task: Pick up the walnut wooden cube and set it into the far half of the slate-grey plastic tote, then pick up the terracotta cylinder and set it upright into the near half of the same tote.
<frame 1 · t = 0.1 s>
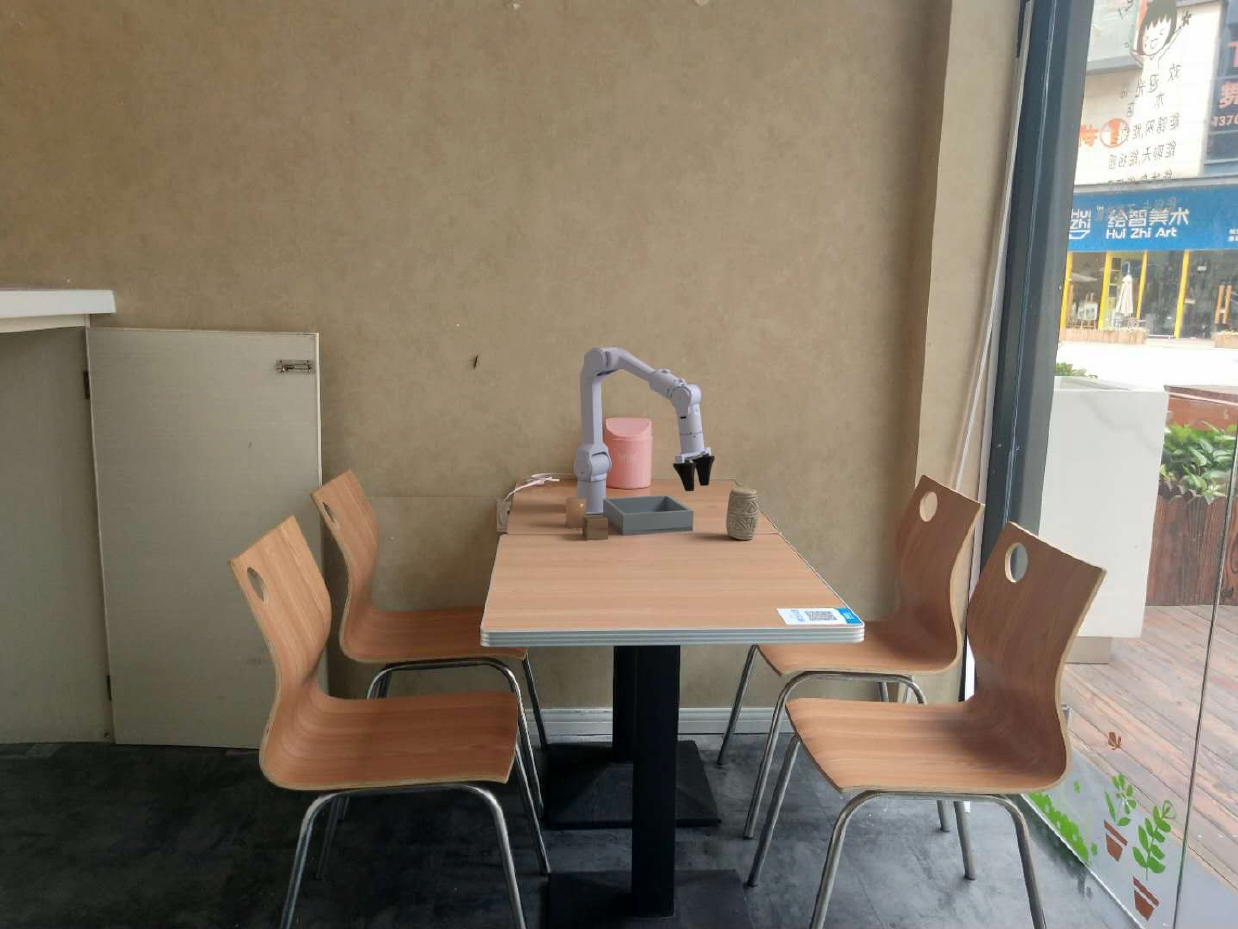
hand: (697, 488, 222), 11 cm above the table, tool pointing down, fingers open, 7 cm apart
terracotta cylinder: (575, 526, 226), on the table
tote: (646, 523, 229), on the table
walnut cube: (595, 537, 216), on the table
carving: (741, 538, 217), on the table
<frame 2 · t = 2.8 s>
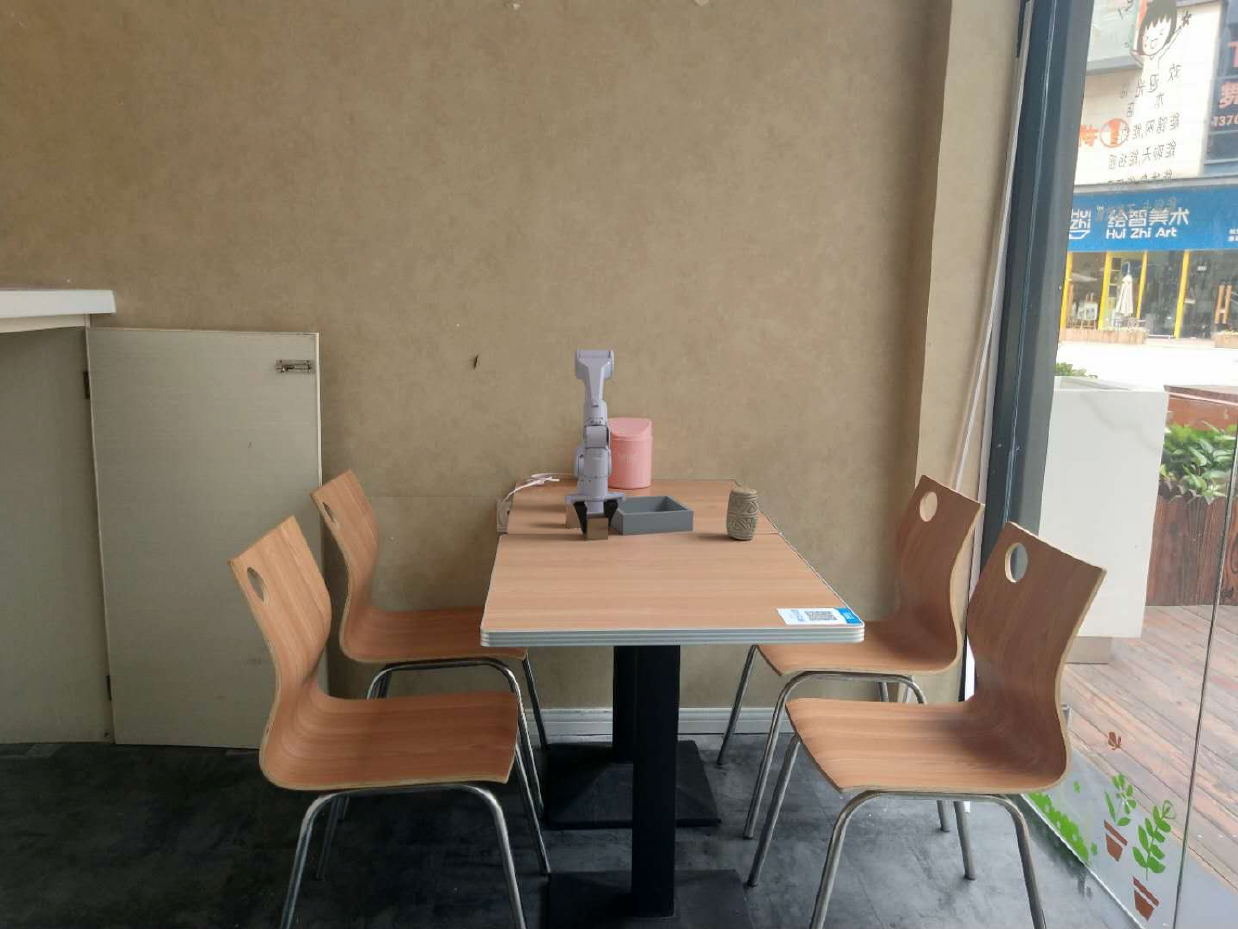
hand: (595, 531, 216), 1 cm above the table, tool pointing down, fingers closed on walnut cube, 5 cm apart
walnut cube: (595, 537, 216), on the table, touching gripper
everything else where it was.
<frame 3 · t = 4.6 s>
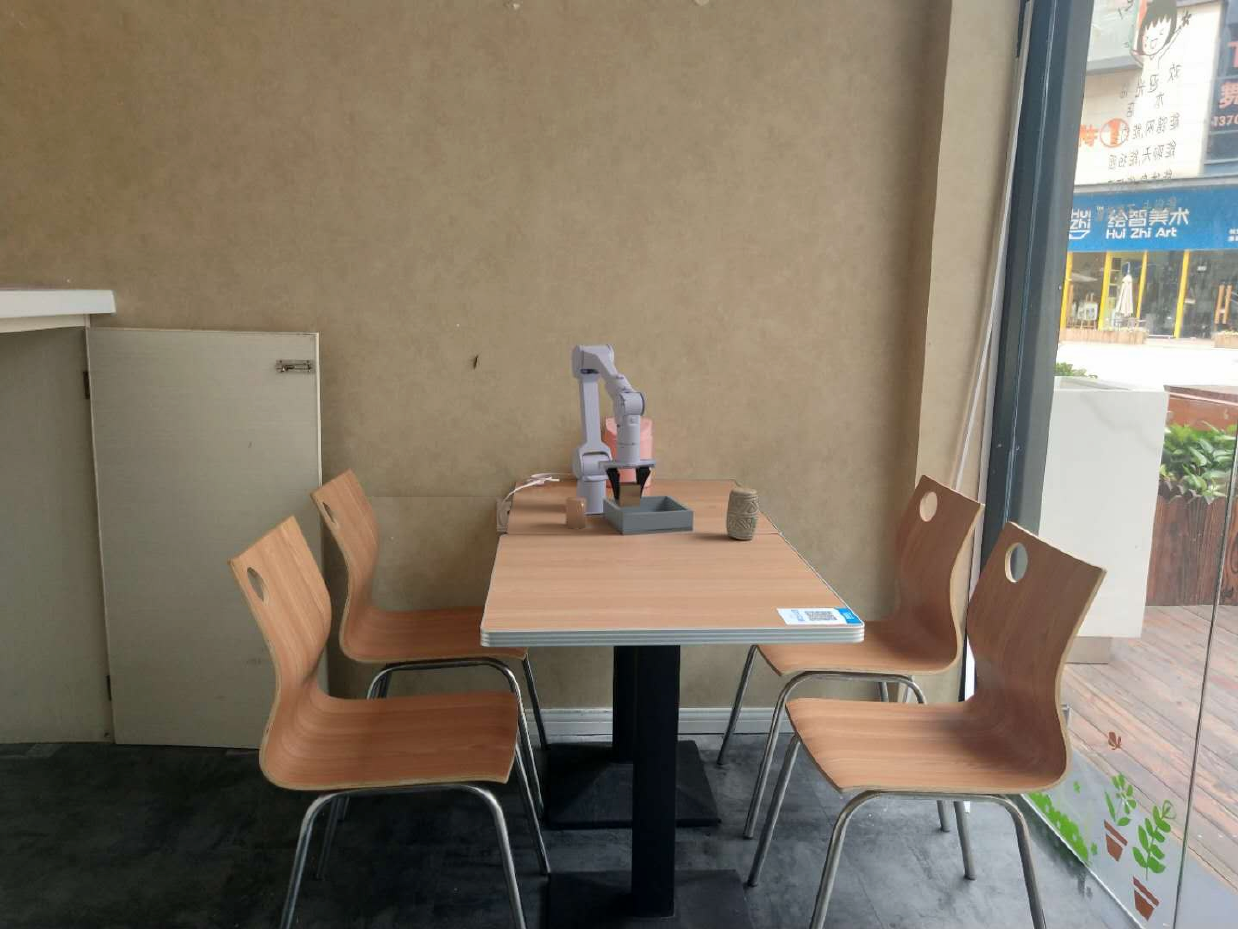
hand: (627, 498, 219), 9 cm above the table, tool pointing down, fingers closed on walnut cube, 5 cm apart
walnut cube: (627, 504, 219), point 7 cm above the table, touching gripper
everything else where it was.
when the fingers open (4 cm above the table, at t = 6.4 s): walnut cube drops 2 cm, resting on tote.
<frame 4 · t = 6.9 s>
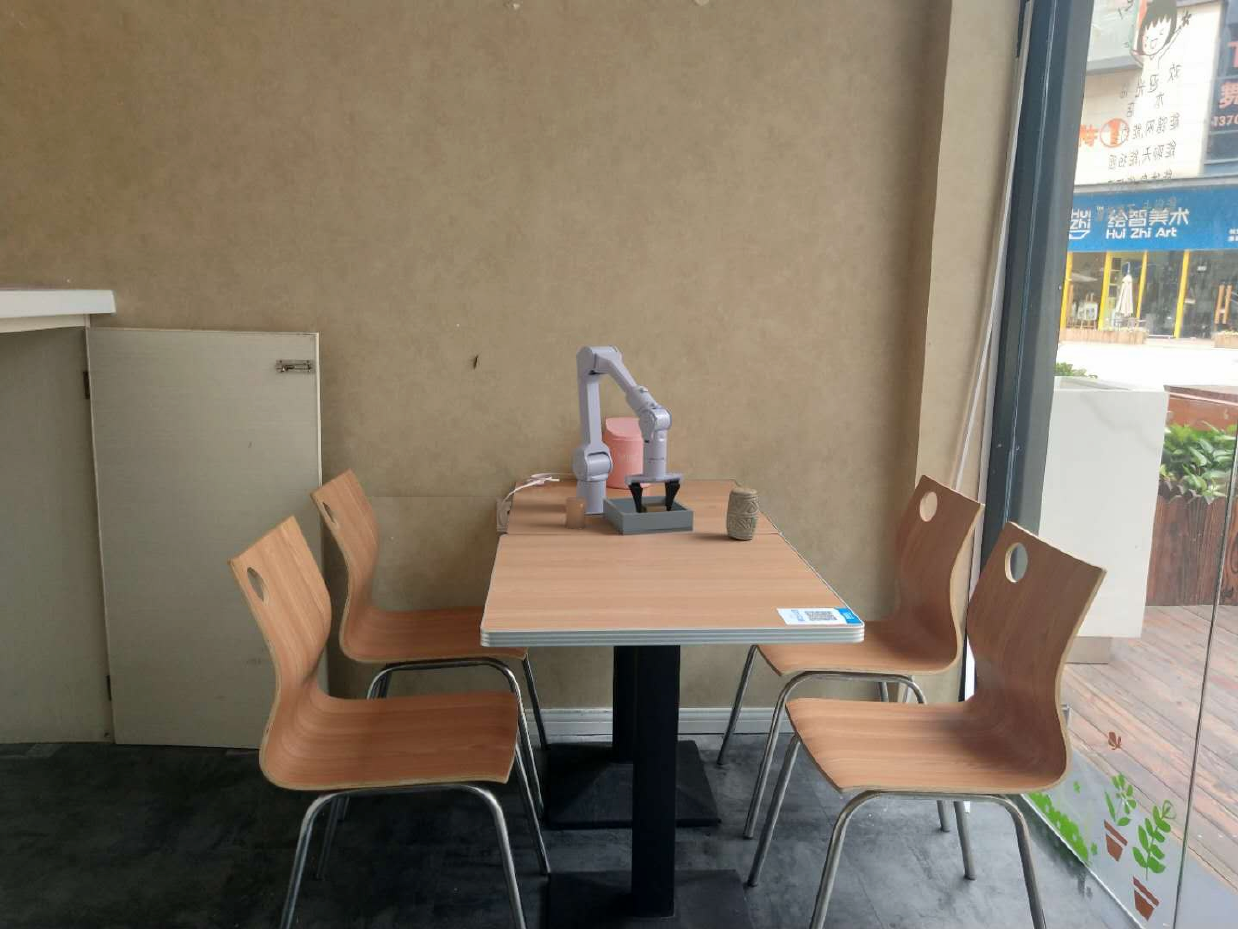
hand: (653, 511, 223), 4 cm above the table, tool pointing down, fingers open, 7 cm apart
walnut cube: (653, 525, 224), point 1 cm above the table, touching tote
everything else where it was.
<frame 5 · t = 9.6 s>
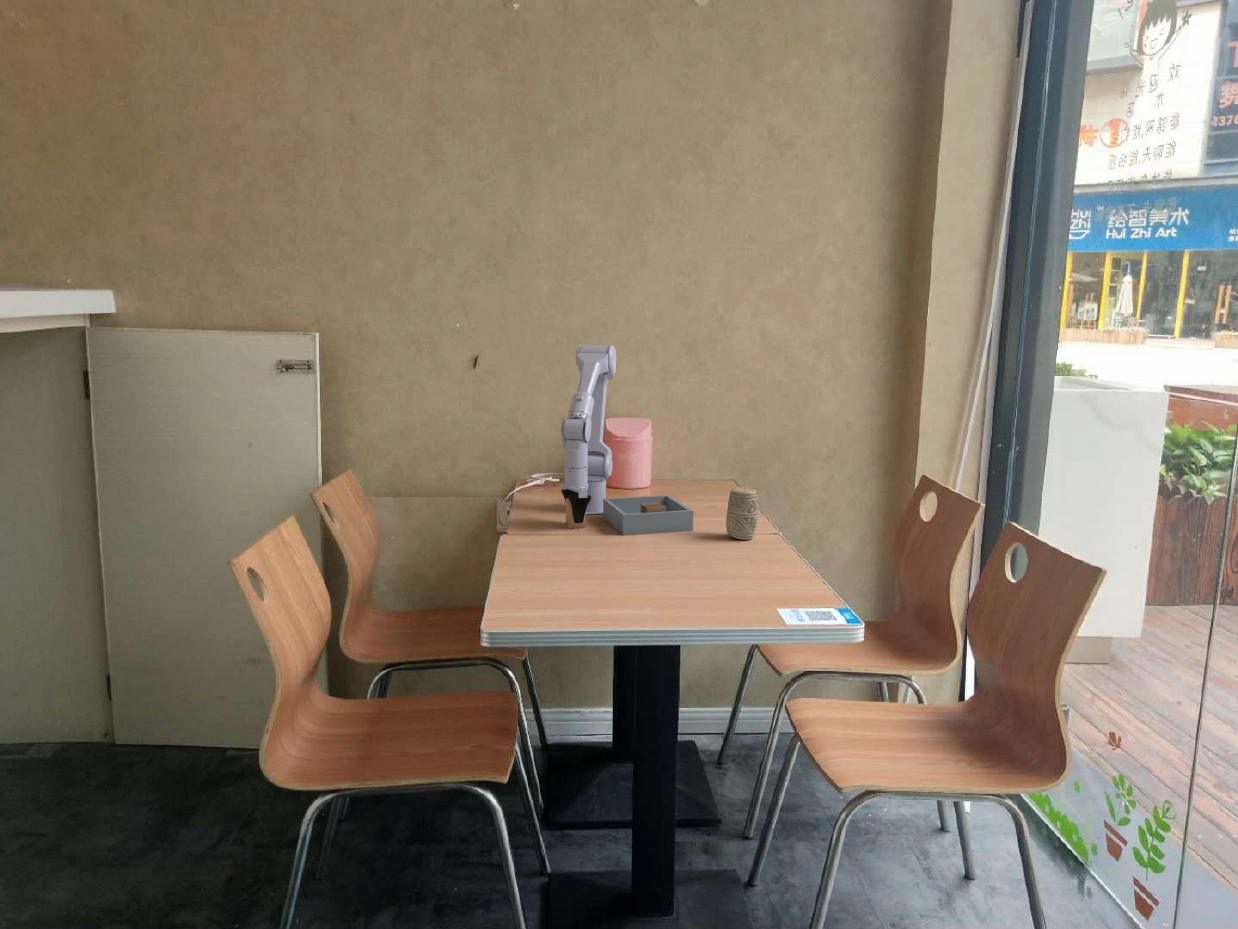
hand: (575, 520, 225), 2 cm above the table, tool pointing down, fingers closed on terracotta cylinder, 5 cm apart
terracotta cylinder: (575, 526, 226), on the table, touching gripper
everything else where it was.
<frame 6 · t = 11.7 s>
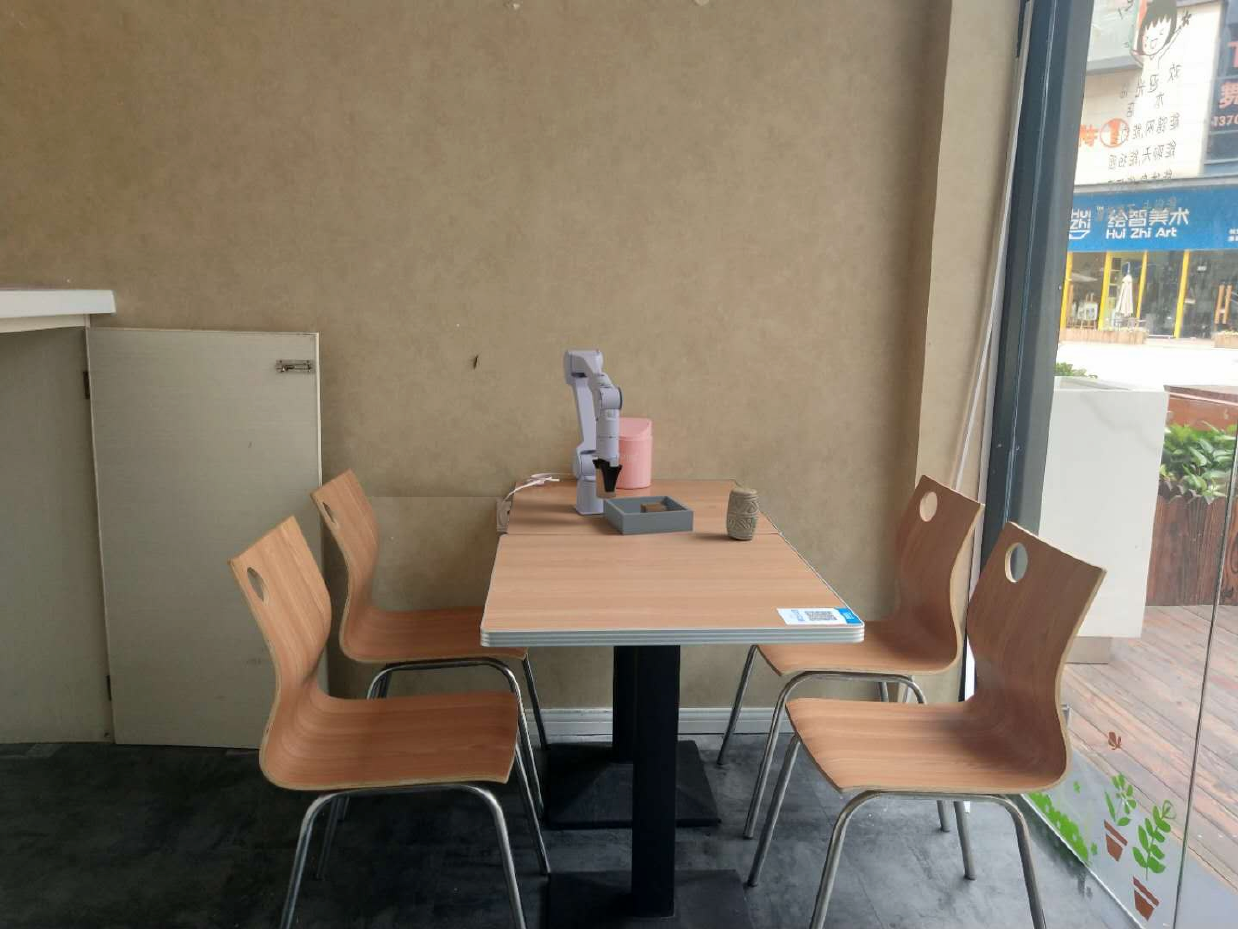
hand: (606, 489, 227), 9 cm above the table, tool pointing down, fingers closed on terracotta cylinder, 5 cm apart
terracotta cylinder: (606, 496, 227), point 7 cm above the table, touching gripper
everything else where it was.
when the fingers open (4 cm above the table, at t = 13.9 s): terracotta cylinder stays where it is, resting on tote.
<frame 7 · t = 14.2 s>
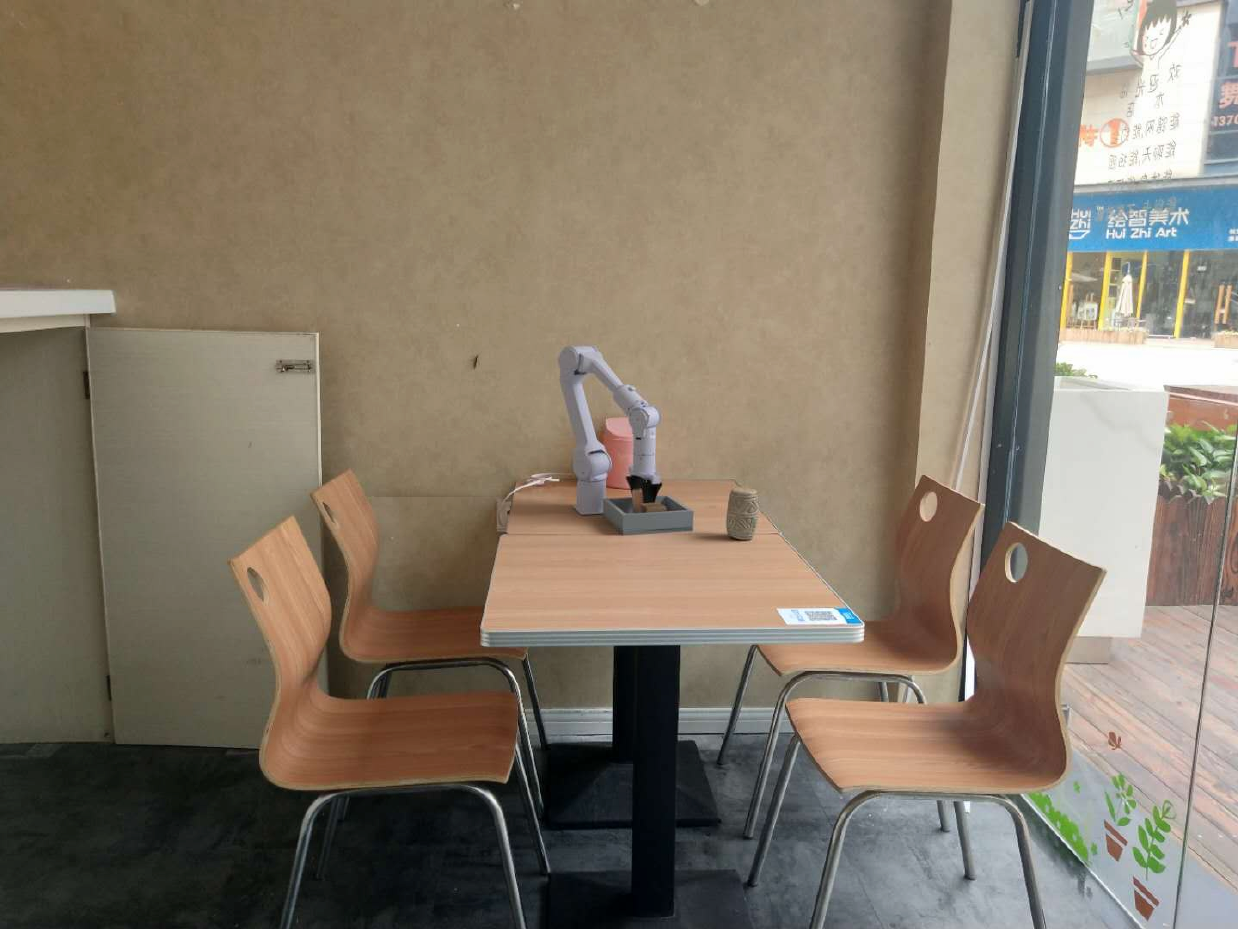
hand: (643, 506, 231), 4 cm above the table, tool pointing down, fingers open, 6 cm apart
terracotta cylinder: (642, 517, 231), point 1 cm above the table, touching tote
everything else where it was.
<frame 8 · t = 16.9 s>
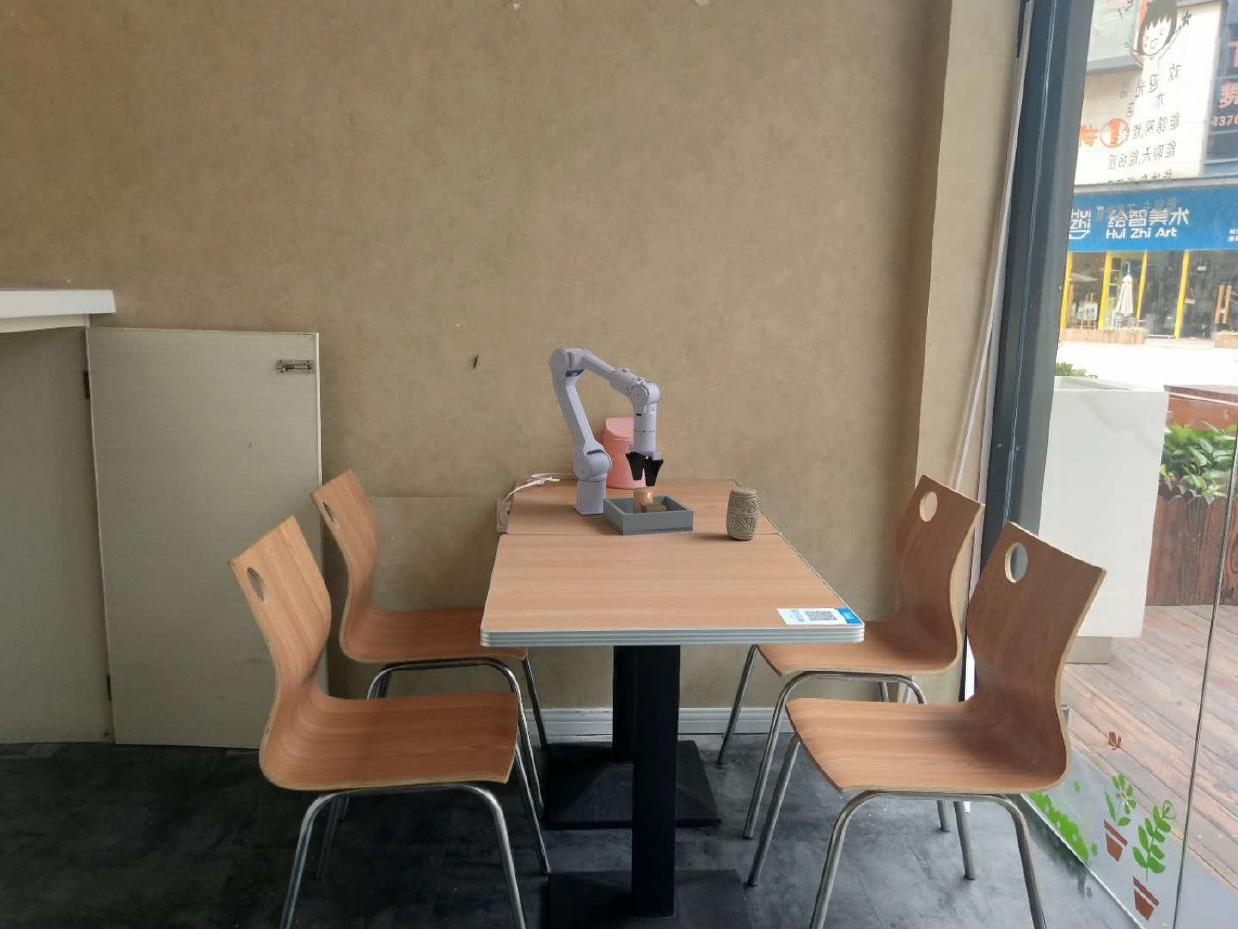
hand: (643, 483, 230), 10 cm above the table, tool pointing down, fingers open, 7 cm apart
nothing on the table moved.
at the end: walnut cube inside the target area on the tote (5.1 cm from its centre), point 1.0 cm above the tote's base; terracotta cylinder inside the target area on the tote (3.0 cm from its centre), point 1.1 cm above the tote's base; the gripper is holding nothing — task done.
